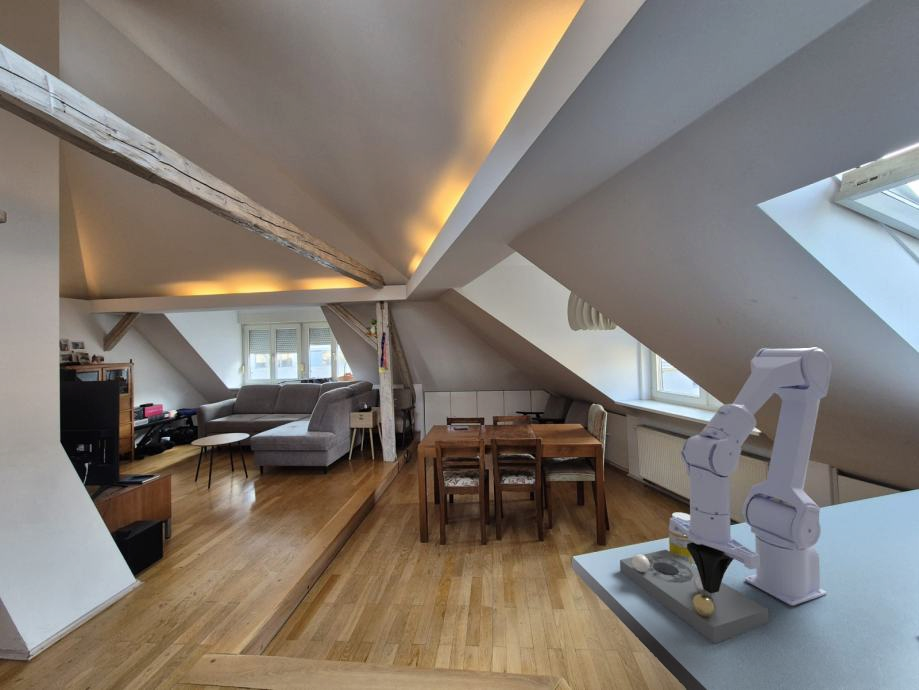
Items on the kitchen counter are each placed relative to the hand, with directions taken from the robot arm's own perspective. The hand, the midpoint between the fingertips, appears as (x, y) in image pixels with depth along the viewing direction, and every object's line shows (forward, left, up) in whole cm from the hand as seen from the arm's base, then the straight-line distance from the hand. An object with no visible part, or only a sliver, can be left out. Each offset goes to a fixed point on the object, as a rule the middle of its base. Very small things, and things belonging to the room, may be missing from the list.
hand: (710, 590), depth 64 cm
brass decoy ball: (+4, +2, 0) cm, 5 cm away
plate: (-1, -5, -4) cm, 7 cm away
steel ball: (0, -1, 0) cm, 1 cm away
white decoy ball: (+4, -11, 0) cm, 12 cm away
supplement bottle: (-10, -14, -4) cm, 18 cm away
